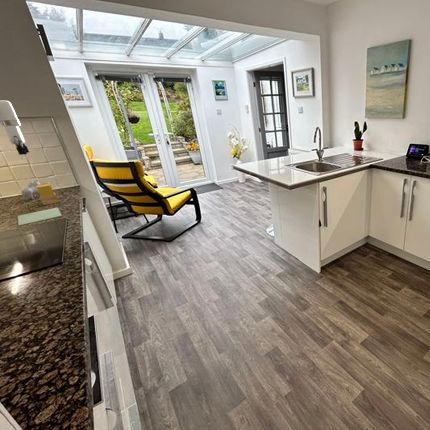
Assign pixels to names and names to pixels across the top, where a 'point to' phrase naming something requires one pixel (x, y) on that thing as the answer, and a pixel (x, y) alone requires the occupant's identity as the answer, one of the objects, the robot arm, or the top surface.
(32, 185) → the dog figurine
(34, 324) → the top surface
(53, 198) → the base block
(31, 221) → the mat
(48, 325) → the top surface
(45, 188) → the top cube
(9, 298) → the top surface
